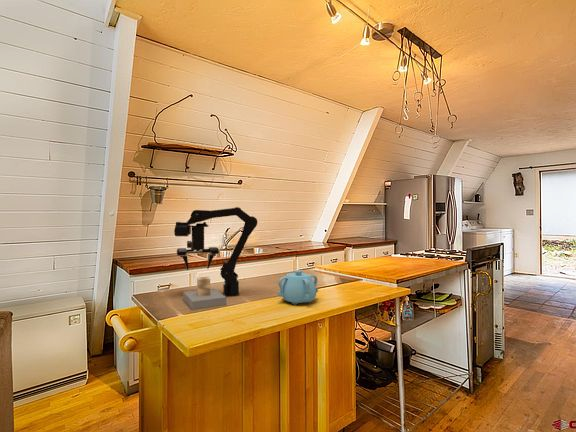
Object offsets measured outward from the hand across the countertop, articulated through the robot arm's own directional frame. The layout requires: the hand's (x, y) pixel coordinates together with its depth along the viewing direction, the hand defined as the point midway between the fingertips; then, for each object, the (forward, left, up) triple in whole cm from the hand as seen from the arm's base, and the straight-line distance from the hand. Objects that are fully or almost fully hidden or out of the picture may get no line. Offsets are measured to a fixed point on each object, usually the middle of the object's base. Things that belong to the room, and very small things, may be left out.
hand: (197, 269), depth 149 cm
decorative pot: (-40, +27, -12) cm, 50 cm away
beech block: (-1, +14, -9) cm, 16 cm away
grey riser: (-1, +14, -13) cm, 19 cm away
